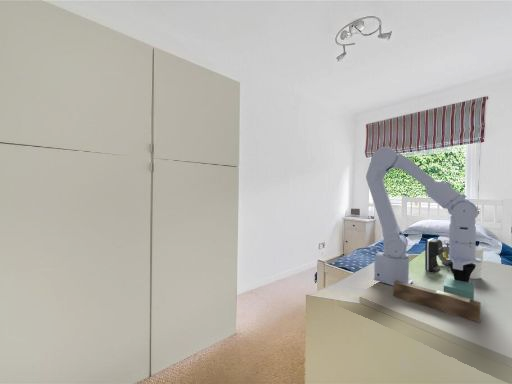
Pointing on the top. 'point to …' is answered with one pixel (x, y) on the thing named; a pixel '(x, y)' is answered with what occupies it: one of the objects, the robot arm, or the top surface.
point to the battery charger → (432, 254)
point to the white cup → (477, 264)
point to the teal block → (459, 288)
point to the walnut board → (439, 300)
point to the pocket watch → (445, 254)
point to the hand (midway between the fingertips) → (461, 288)
